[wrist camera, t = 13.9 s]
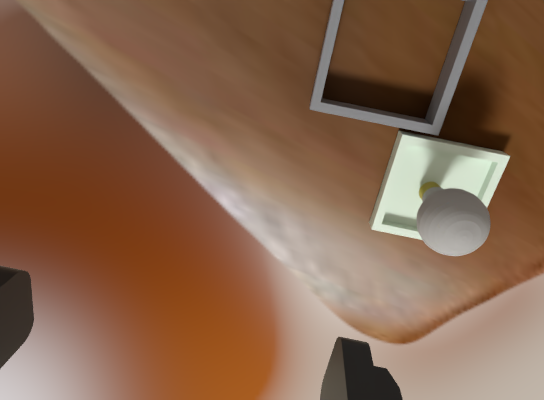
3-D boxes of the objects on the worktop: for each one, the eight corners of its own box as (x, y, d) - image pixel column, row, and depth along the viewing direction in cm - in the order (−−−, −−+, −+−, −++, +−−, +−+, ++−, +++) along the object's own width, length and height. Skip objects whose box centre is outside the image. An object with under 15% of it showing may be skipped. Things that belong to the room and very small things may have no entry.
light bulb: (462, 163, 38) (511, 207, 28) (451, 214, 40) (493, 271, 31) (403, 161, 38) (433, 204, 29) (395, 212, 40) (421, 267, 31)
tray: (369, 222, 41) (371, 229, 40) (398, 130, 37) (402, 134, 36) (462, 241, 41) (468, 249, 40) (502, 151, 37) (510, 156, 36)
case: (309, 104, 37) (309, 109, 35) (340, -36, 33) (342, -41, 30) (430, 129, 37) (438, 135, 35) (478, -8, 32) (491, -11, 30)
